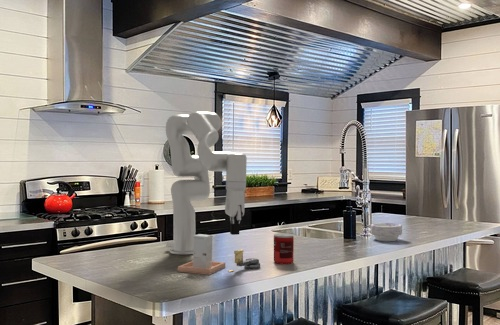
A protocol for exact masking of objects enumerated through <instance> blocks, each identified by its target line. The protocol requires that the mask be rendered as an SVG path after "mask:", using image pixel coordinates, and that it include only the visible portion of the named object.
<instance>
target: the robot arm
mask: <svg viewBox="0 0 500 325" xmlns="http://www.w3.org/2000/svg"><path fill="white" fill-rule="evenodd" d="M221 125H222V120H221V118H220V116H219V114H217V113H216V112H213V111H212V112H211V111H193V112H191V113H189V114H174V115H171V116H169V117H168V119H167V120H166V123H165V135H166V140H167V141H168V145H169V149H170V159H171V168H172V173H173V175H174V176H176V177H178V178H194V179H179V180H176V181H174V182H173V183H172V184H171V188H170V194H171V199H172V200H171V201H172V209H173V210H172V211H173V214H172V215H173V225H172V226H173V241H167V242H166V244H165V245H166V247H168V248H169V247H170V248H171V249H170V250H169V253H170V254H172V255H182V256H183V255H187V256H188V255H193V239H194V235H196V210H195V207H194V206H193V204H192V203H191V202H201V201H202V202H203V201H206V200H207V199H208V198H209V197H210V194H211V185H210V177H209V175H210V174H209V172H225V191H226V194H225V205H224V206H225V207H224V212H225V214H226V215H228V216H229V224H230V226H229V227H230V228H229V229H230V230H229V234H230V235H231V236H232V235H240V225H241V224H240V223H241V220H242V217H244V216H245V191H246V189H247V155H246V154H245V153H241V152H240V153H239V152H237V153H236V152H233V151H212V150H211V149H210V148H211V147H213V146H215V145H216V143H217V142H218V141H219V136H220V135H219V132H218V131H219V130H220V128H221ZM184 135H192V136H193V135H194V136H195V138H196V140H197V141H198V144H197V147H196V148H197V150H196V151H197V155H192V154H191V149H190V145H189V142H188V140H187V139H186V137H184Z"/></svg>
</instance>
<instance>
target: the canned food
mask: <svg viewBox="0 0 500 325" xmlns="http://www.w3.org/2000/svg"><path fill="white" fill-rule="evenodd" d="M294 244H295V243H294V234H293V233H292V234H291V233H287V232H278V233H274V234H273V262H274V264H277V265H291V264H293V263H294V247H295V246H294Z"/></svg>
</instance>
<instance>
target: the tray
mask: <svg viewBox="0 0 500 325" xmlns="http://www.w3.org/2000/svg"><path fill="white" fill-rule="evenodd" d="M224 268H226V262H222V261H213V260H212V267H211V268H209V269H206V268H195V267H193V260H191V261H188V262H186V263H184V264H181V265H178V266H177V272H178V273H179V272H180V273H181V272H182V273H190V274H192V273H193V274H200V275H201V274H202V275H211V274H213V273H216V272H218V271H220V270H222V269H224Z"/></svg>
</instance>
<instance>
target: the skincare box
mask: <svg viewBox="0 0 500 325" xmlns="http://www.w3.org/2000/svg"><path fill="white" fill-rule="evenodd" d="M192 261H193V267H195V268H206V269H209V268H211V267H212V261H213V235H211V234H202V233H198V234H195V235H194V239H193V254H192Z"/></svg>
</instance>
